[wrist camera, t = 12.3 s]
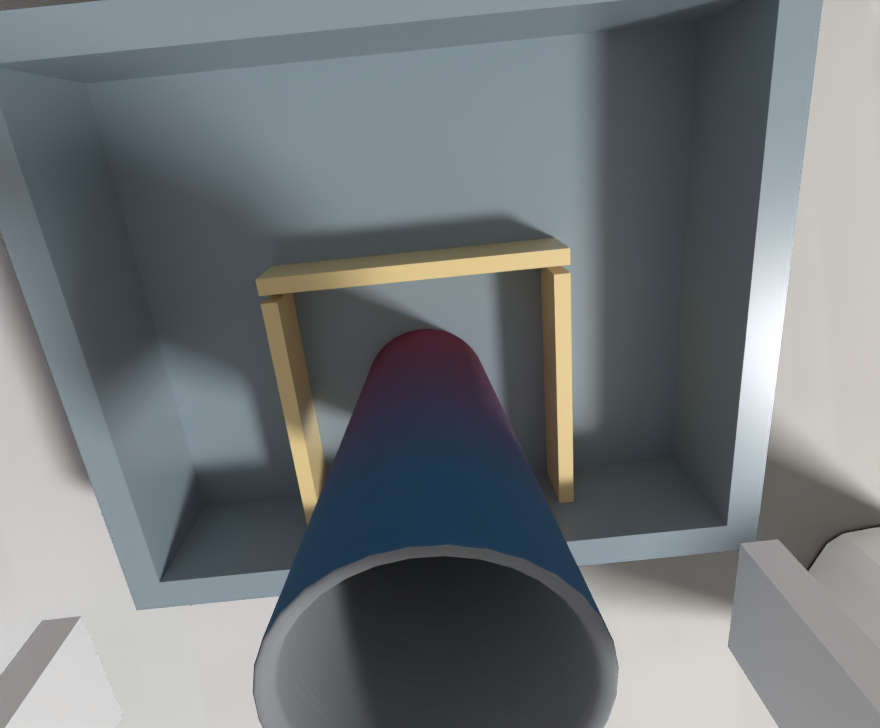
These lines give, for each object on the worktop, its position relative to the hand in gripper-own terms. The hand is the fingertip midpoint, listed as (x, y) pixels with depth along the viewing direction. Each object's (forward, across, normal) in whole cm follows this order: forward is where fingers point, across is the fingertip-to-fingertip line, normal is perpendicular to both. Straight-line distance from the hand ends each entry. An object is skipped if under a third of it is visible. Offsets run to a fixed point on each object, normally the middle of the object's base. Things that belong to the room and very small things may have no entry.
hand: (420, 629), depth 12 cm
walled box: (+15, 0, +3) cm, 15 cm away
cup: (+14, 0, -1) cm, 14 cm away
